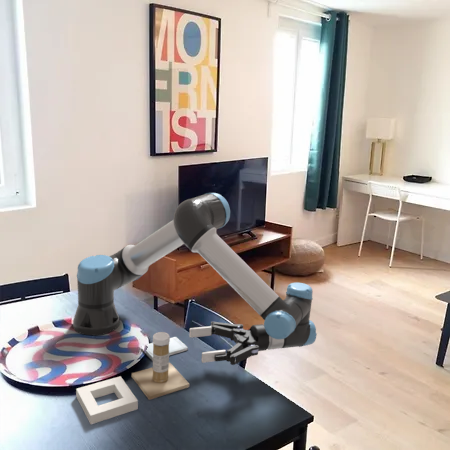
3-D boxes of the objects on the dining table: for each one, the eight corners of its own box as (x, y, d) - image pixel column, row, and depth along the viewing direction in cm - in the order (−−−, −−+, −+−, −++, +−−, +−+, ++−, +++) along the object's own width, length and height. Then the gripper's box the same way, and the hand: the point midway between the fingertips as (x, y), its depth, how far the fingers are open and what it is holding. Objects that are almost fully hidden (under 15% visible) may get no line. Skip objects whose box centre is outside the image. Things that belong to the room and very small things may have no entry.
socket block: (76, 397, 120) (76, 388, 119) (120, 384, 126) (120, 376, 126) (90, 424, 110) (90, 415, 110) (137, 409, 117) (137, 400, 116)
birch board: (131, 376, 130) (131, 373, 130) (169, 365, 137) (169, 362, 136) (149, 399, 121) (149, 396, 120) (189, 386, 127) (189, 383, 127)
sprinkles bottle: (165, 372, 131) (166, 330, 128) (170, 381, 127) (172, 337, 124) (149, 375, 129) (150, 332, 126) (154, 385, 125) (155, 340, 122)
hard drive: (152, 357, 138) (187, 346, 145) (140, 345, 145) (175, 335, 152) (152, 362, 139) (187, 351, 146) (140, 349, 145) (175, 340, 152)
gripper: (282, 371, 125) (207, 382, 119) (249, 328, 148) (184, 335, 141) (284, 347, 123) (208, 356, 117) (251, 307, 146) (185, 312, 139)
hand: (195, 344), depth 129 cm, fingers open, 13 cm apart
